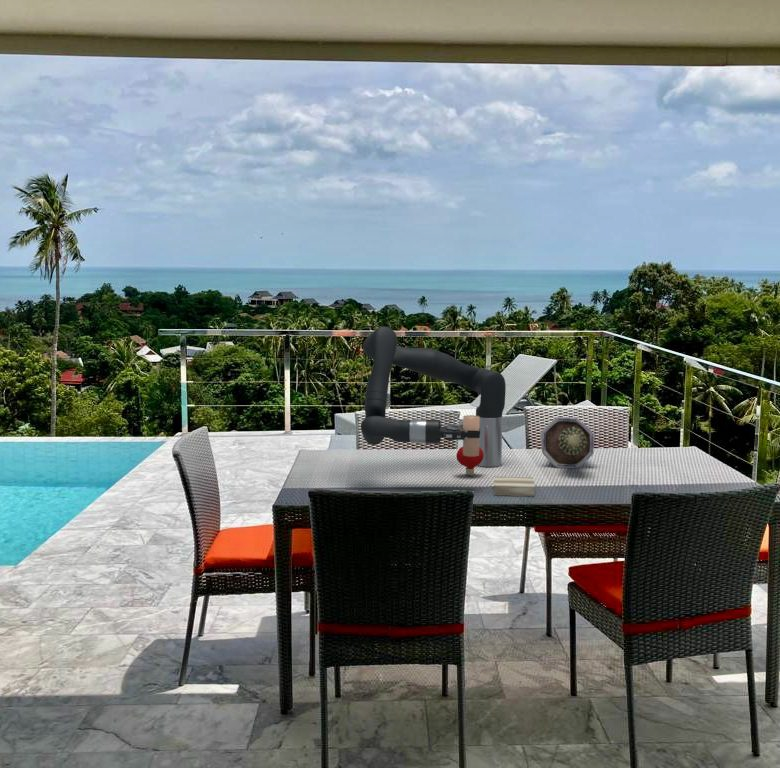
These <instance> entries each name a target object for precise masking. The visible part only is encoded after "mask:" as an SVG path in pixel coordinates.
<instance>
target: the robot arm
mask: <svg viewBox="0 0 780 768" xmlns="http://www.w3.org/2000/svg"><path fill="white" fill-rule="evenodd" d="M362 348H363V351H364V354H365V356H367V357H369V358H370V359H371V360H373V364H372V368H371V372H370V374H369V377H368V382H367V385H366V387H365V388H366V389H365V395H364V396H365V397H364V414H365V415H364V416H365V417H364V419H363V420H362V421H361V423H360V431H361V433H362V437H363V439H364V440H365V442H366V443H367V444H369V445H371V446H376V445H379V444H381V443H382V442H383V441H384V439H385V438H387V439H388V438H389V439H391V440H392V441H394V442H396V443H413V444H425V445H426V444H429V445H430V444H431V445H439V444H440V443H441V438H444V439H445V441H463V440H465V439H467V437H468V438H479V447H480V448H481V449H482V451H483V453H484V457H483V460H482V462H481V463H480V464H479V465H477V467H478V466H479V467H485V468H488V467H489V468H495V467H496V468H497V467H500V466H502V462H503V461H502V455H503V454H502V452H503V411H504V410H505V404H506V393H507V392H506V389H507V385H506V380H505V377H504V376H503V375H502V373H500V372H498V371H495V370H491V369H486V368H480V367H476V366H473V365H468V364H465V363H464V362H462V361H460V360H458V359H457V358H454V357H453V356H451V355H450V354H447V353H444V352H441V351H439V350H437V349H432V348H428V347H426V348H425V347H404V346H400V345H398V335H397V334H396V331H394V330H393V329H392V328H391V327H389V326H384V325H383V326H379V327H378V328H376V329H375V330H374V331H373V330H372V332H371V334H369V335H368V337H367V338H366V339H365V340H364V342H363V343H362ZM393 366H398V367H401V368H403V369H406V370H409V371H413V372H415V373H419V374H422V375H423V376H426V377H428V378H431V379H435V380H439V381H442V382H447V383H453V384H457V385H461V386H462V387H465V388H467V389H470V390H472V391H473V392H475V393H476V394H479V395H480V400H479V401H480V402H479V406H476V408H475V415H476V416H479V417H480V423H479V431H471V430H468V432H467V430H463V424H451V423H449V424H446V426H442V422H441V420H440V419H421V418H420V419H418V418H417V419H394V418H391V417H386V410H387V404H388V403H387V401H388V391H389V383H390V375H391V371H392V367H393Z"/></svg>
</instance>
